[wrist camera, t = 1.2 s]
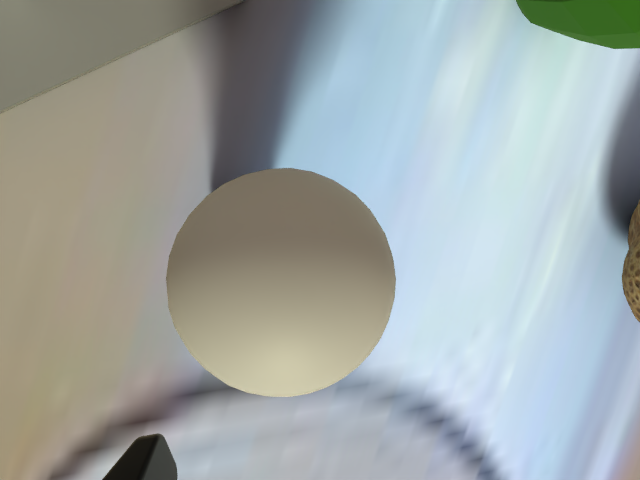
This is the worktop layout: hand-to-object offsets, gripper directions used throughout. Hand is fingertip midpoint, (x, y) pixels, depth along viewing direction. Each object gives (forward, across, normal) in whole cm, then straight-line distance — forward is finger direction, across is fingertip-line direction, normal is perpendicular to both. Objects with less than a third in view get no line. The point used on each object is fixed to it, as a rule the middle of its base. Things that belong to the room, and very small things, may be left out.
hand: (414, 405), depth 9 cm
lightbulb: (+13, +4, +1) cm, 14 cm away
